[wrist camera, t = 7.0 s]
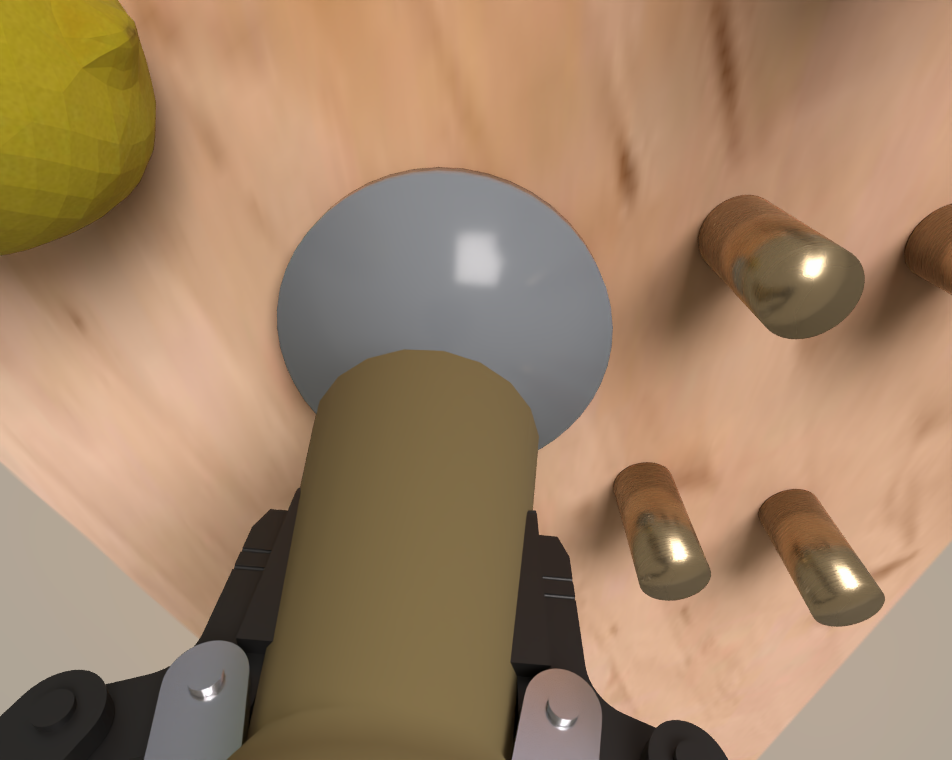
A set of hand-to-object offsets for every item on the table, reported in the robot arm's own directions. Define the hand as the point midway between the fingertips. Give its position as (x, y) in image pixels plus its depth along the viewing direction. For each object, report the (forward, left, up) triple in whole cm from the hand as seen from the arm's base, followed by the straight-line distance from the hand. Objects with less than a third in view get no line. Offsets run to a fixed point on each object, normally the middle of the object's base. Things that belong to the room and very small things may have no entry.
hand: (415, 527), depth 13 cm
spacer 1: (+2, -11, -10) cm, 15 cm away
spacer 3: (+7, -17, -10) cm, 20 cm away
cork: (0, 0, -3) cm, 3 cm away
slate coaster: (0, 0, -10) cm, 10 cm away
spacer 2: (+10, -3, -10) cm, 14 cm away
